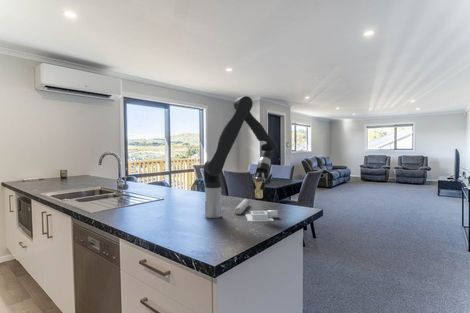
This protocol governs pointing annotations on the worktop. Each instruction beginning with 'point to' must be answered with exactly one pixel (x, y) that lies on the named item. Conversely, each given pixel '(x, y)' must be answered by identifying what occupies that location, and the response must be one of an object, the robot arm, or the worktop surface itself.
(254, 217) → the socket
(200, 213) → the worktop surface
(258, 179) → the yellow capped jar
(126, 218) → the worktop surface
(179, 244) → the worktop surface
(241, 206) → the tube
